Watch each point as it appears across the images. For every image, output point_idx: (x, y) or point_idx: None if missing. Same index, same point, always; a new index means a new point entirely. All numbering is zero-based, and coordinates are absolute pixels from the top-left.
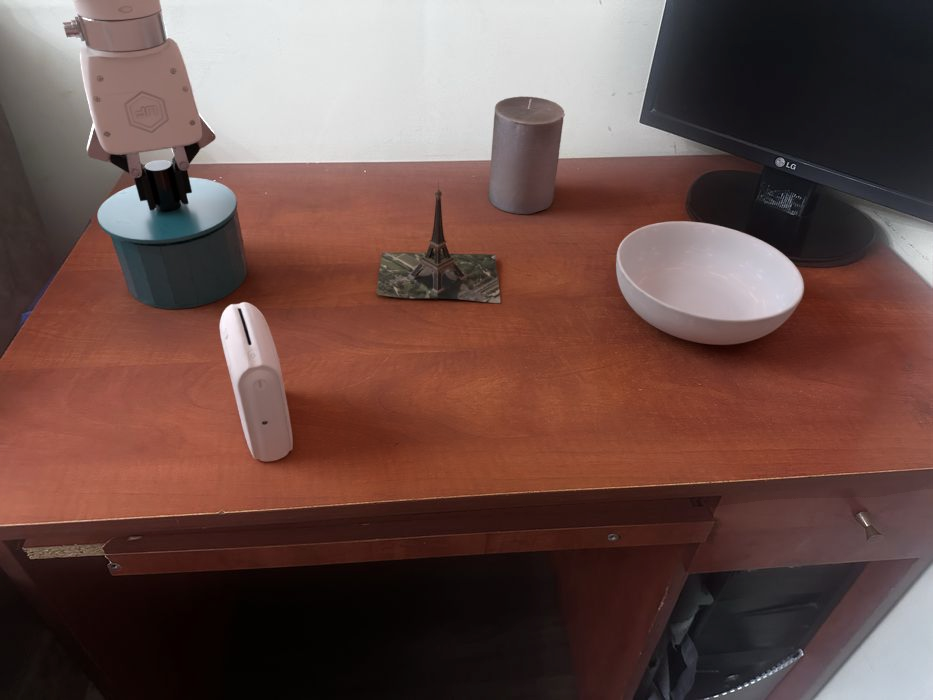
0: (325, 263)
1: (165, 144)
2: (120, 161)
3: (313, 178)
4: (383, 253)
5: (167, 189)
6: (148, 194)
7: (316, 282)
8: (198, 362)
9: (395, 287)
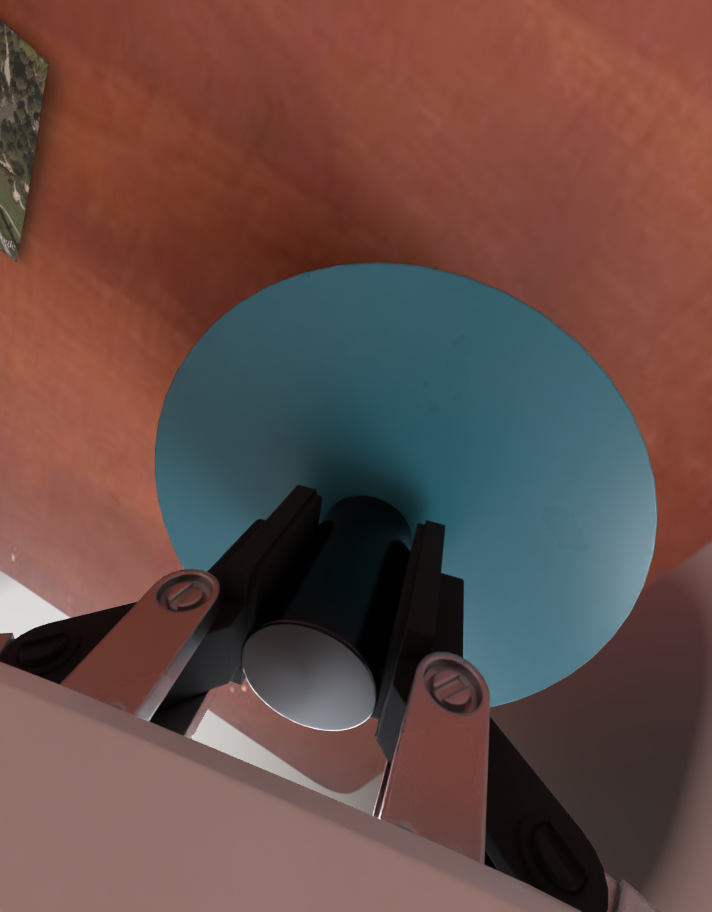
0: (134, 305)
1: (87, 760)
2: (528, 823)
3: (94, 593)
4: (13, 255)
5: (339, 548)
6: (430, 562)
7: (169, 238)
8: (558, 6)
9: (7, 80)
